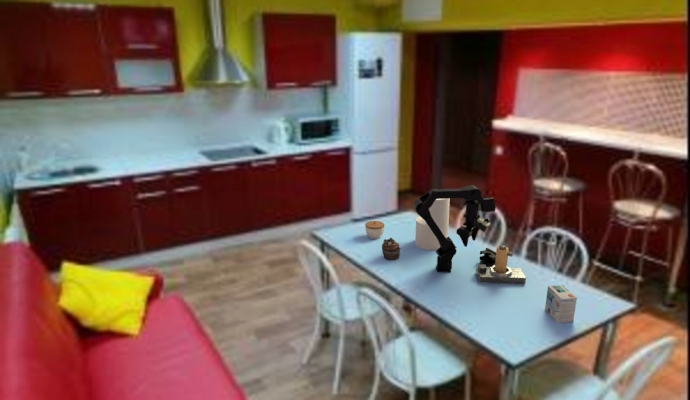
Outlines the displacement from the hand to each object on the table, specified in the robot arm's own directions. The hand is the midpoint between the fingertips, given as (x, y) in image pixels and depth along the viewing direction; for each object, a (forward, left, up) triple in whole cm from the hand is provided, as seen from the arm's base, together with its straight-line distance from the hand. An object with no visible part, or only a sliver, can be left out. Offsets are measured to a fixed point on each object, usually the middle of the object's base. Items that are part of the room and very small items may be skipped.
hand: (469, 243), depth 228 cm
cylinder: (-15, +29, -13) cm, 35 cm away
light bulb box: (+29, -41, -13) cm, 52 cm away
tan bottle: (+13, -10, -10) cm, 19 cm away
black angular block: (+12, +5, -13) cm, 19 cm away
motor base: (+13, -10, -13) cm, 21 cm away
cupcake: (-37, +11, -13) cm, 41 cm away
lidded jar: (-46, +38, -13) cm, 61 cm away
